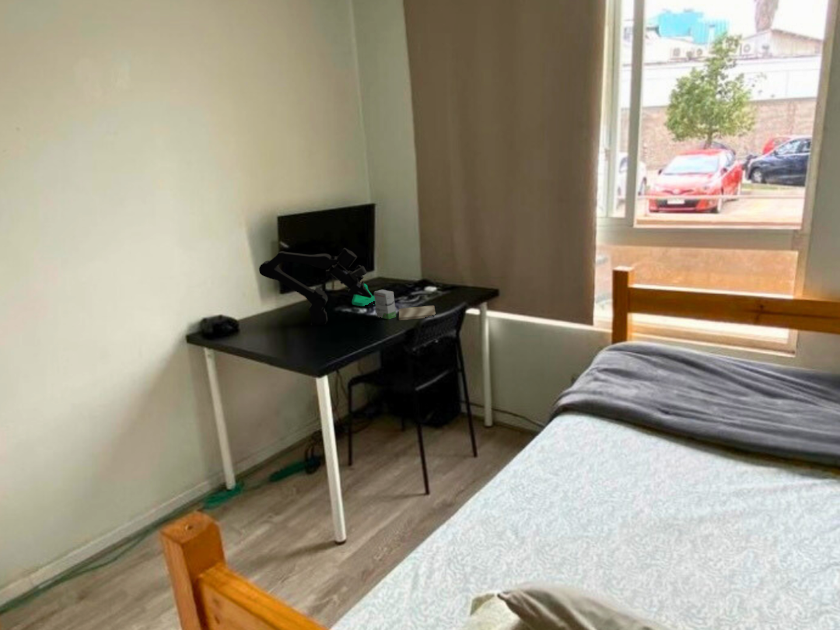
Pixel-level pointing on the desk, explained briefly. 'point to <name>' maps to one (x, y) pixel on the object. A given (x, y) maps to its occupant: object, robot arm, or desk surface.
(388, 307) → the ink box
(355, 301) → the camera mount
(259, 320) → the desk surface
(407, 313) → the birch board
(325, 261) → the robot arm
